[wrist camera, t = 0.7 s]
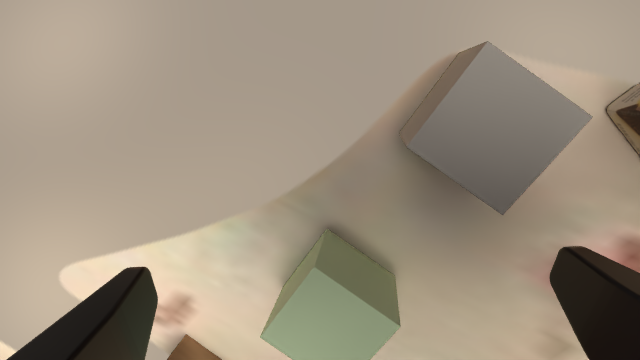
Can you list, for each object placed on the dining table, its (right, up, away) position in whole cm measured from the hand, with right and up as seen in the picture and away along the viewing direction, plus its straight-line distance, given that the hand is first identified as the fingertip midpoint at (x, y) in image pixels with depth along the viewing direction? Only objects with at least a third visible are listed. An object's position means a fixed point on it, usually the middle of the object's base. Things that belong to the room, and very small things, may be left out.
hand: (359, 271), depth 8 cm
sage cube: (0, -4, +15) cm, 16 cm away
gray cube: (+7, +5, +12) cm, 14 cm away
